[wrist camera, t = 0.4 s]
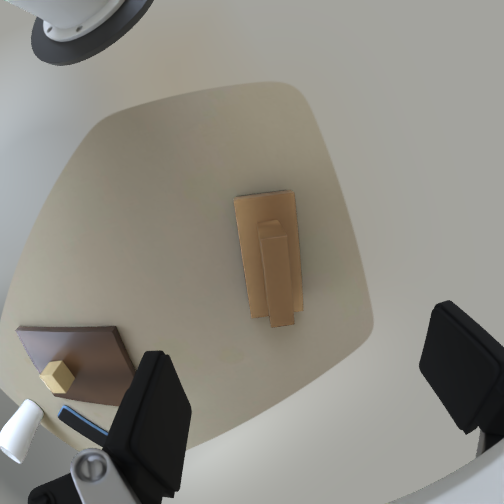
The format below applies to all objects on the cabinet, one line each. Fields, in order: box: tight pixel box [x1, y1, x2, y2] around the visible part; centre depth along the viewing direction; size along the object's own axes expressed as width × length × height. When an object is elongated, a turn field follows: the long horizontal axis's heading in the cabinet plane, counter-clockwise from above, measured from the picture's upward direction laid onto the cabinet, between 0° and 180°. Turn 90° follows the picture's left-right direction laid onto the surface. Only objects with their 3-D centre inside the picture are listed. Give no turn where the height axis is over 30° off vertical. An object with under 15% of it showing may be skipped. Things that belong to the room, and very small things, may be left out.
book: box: [16, 326, 136, 406], centre depth 31 cm, size 14×20×1 cm
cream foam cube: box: [39, 361, 75, 393], centre depth 29 cm, size 4×4×4 cm
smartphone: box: [58, 406, 108, 447], centre depth 37 cm, size 7×1×15 cm
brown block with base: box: [234, 190, 303, 328], centre depth 23 cm, size 5×11×8 cm, turn 7°
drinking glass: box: [0, 399, 44, 464], centre depth 29 cm, size 7×7×15 cm
